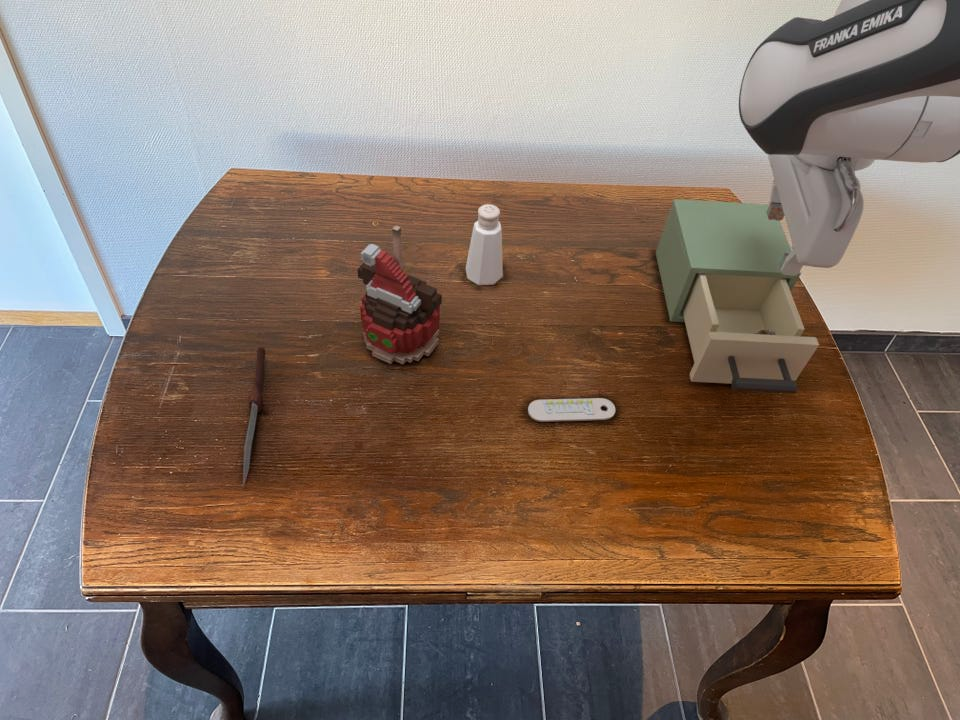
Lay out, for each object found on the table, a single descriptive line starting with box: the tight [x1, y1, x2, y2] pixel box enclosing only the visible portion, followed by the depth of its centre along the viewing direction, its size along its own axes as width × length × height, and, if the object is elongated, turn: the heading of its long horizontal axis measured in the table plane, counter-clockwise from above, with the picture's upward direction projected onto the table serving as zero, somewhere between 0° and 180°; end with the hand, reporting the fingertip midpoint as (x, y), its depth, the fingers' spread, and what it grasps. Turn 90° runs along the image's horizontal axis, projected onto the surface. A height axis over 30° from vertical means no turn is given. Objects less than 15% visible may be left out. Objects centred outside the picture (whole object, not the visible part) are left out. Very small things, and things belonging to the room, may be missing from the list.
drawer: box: [682, 273, 820, 394], centre depth 85 cm, size 17×13×8 cm
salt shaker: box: [465, 203, 504, 286], centre depth 93 cm, size 5×5×11 cm
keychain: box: [527, 397, 616, 423], centre depth 82 cm, size 10×1×3 cm
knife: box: [242, 346, 266, 488], centre depth 78 cm, size 18×2×3 cm, turn 5°
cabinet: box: [655, 198, 802, 323], centre depth 94 cm, size 14×14×10 cm
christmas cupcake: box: [356, 225, 443, 365], centre depth 81 cm, size 11×9×18 cm
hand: (780, 242), depth 77 cm, fingers open, 8 cm apart
